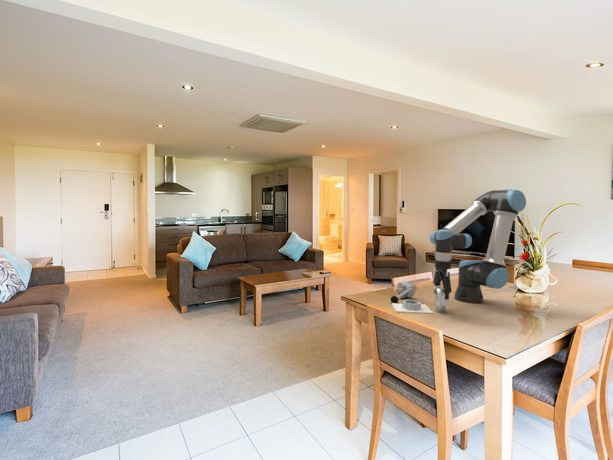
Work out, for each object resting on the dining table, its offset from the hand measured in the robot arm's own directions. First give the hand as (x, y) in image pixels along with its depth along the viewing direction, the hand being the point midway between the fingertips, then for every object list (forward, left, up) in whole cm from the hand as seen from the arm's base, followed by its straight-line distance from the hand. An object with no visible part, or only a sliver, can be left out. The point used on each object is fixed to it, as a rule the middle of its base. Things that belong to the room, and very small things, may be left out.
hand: (441, 301), depth 166 cm
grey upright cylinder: (0, 0, -5) cm, 5 cm away
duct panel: (+14, -3, -5) cm, 15 cm away
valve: (+16, -20, -6) cm, 26 cm away
